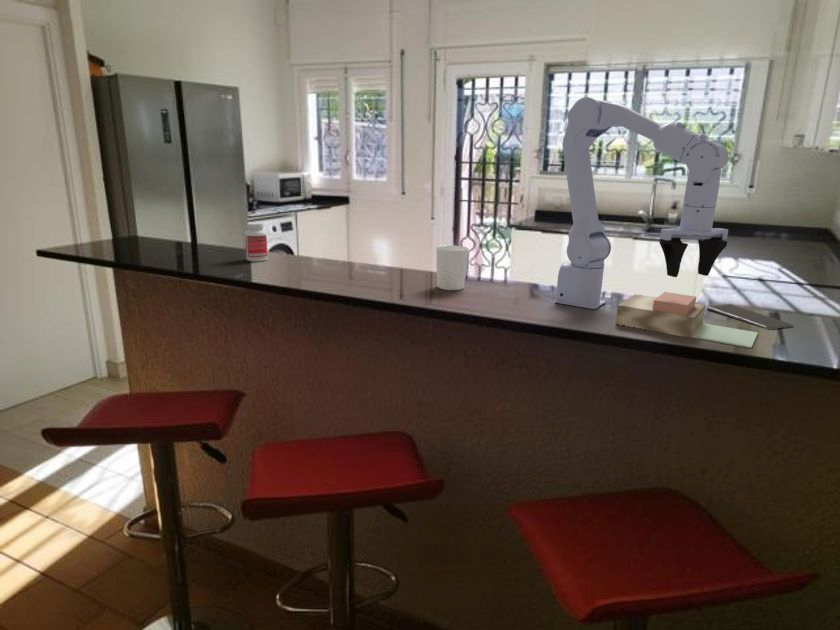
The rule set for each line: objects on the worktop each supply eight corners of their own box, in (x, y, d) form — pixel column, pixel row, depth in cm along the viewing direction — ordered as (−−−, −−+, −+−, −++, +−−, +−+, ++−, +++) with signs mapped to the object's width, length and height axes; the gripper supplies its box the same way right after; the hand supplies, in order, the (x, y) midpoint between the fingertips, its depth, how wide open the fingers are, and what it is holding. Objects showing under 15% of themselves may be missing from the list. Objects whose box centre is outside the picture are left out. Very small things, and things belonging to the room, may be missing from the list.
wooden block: (615, 324, 115) (617, 305, 114) (632, 312, 124) (634, 294, 123) (690, 338, 107) (693, 317, 106) (702, 323, 117) (705, 305, 116)
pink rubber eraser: (652, 310, 111) (653, 300, 110) (663, 301, 118) (664, 291, 117) (685, 315, 107) (687, 305, 107) (694, 306, 114) (696, 296, 114)
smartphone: (769, 327, 114) (705, 306, 128) (768, 332, 114) (704, 310, 128) (795, 324, 116) (730, 303, 131) (794, 329, 117) (729, 308, 131)
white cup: (428, 287, 143) (429, 247, 140) (448, 282, 149) (450, 244, 146) (452, 292, 138) (454, 251, 135) (472, 287, 143) (474, 248, 141)
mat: (690, 337, 108) (691, 335, 108) (701, 324, 116) (702, 323, 116) (751, 348, 102) (751, 346, 102) (757, 334, 111) (758, 332, 111)
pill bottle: (271, 260, 172) (269, 223, 169) (253, 262, 168) (250, 225, 165) (261, 257, 176) (259, 221, 173) (242, 259, 172) (240, 222, 169)
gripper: (683, 208, 104) (672, 281, 108) (745, 208, 108) (732, 278, 112) (657, 204, 111) (647, 273, 114) (716, 204, 115) (705, 271, 119)
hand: (687, 275), depth 114 cm, fingers open, 7 cm apart
